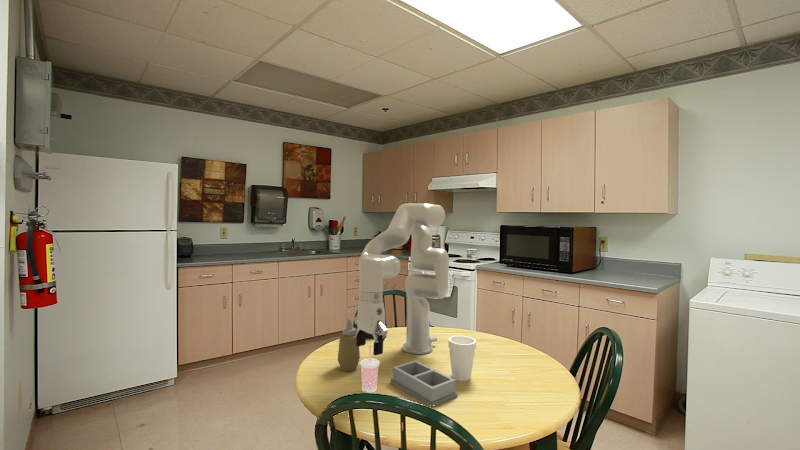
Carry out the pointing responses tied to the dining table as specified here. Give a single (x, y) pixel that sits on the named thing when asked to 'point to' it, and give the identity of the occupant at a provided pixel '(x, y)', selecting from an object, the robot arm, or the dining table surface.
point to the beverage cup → (369, 373)
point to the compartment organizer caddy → (424, 383)
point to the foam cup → (462, 356)
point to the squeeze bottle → (348, 348)
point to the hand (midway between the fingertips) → (369, 349)
